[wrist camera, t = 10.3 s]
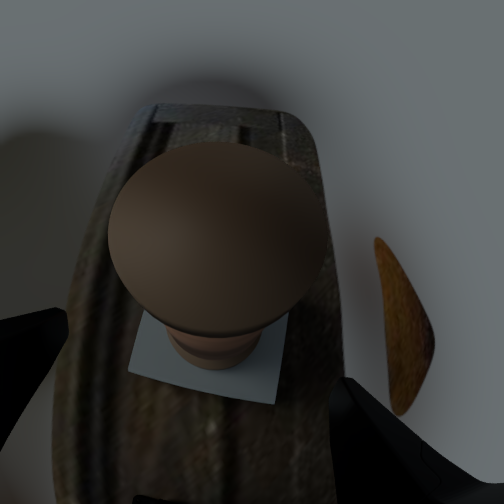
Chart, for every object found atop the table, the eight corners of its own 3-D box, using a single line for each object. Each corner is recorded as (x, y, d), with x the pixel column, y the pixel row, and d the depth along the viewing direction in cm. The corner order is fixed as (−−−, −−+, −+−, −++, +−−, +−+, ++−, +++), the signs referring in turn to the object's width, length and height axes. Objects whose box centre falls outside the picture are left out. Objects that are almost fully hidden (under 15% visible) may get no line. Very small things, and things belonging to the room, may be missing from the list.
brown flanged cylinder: (244, 382, 17) (301, 363, 6) (154, 350, 17) (69, 275, 6) (270, 297, 19) (338, 175, 9) (187, 269, 20) (169, 126, 9)
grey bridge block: (263, 402, 20) (274, 404, 16) (142, 375, 19) (127, 370, 16) (280, 294, 24) (293, 276, 20) (170, 270, 24) (164, 247, 20)
